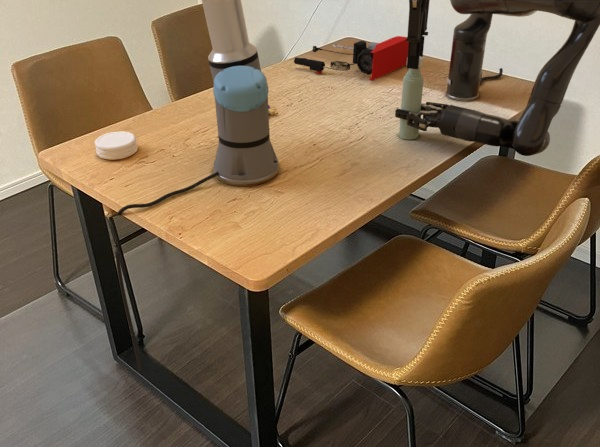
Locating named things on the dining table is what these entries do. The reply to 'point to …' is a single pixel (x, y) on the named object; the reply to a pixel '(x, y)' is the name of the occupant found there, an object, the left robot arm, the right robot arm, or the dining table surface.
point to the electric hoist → (367, 57)
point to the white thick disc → (116, 145)
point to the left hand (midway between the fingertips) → (414, 65)
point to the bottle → (411, 101)
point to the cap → (420, 61)
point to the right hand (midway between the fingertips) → (401, 109)
